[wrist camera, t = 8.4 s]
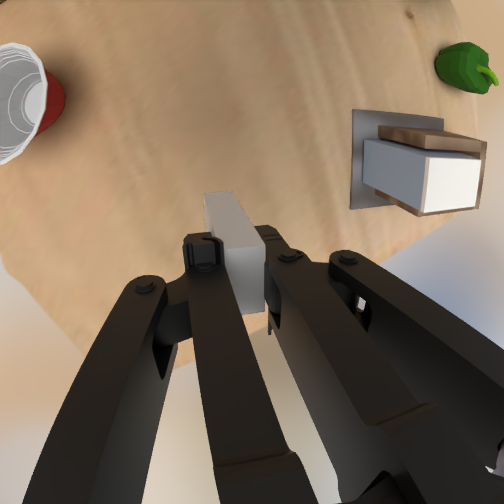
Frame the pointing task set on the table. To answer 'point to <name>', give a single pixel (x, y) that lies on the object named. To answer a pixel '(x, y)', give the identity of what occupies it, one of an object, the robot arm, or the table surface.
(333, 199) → the table surface
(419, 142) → the housing
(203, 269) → the robot arm
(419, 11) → the table surface
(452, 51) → the bell pepper
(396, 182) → the white box
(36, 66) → the plastic cup
